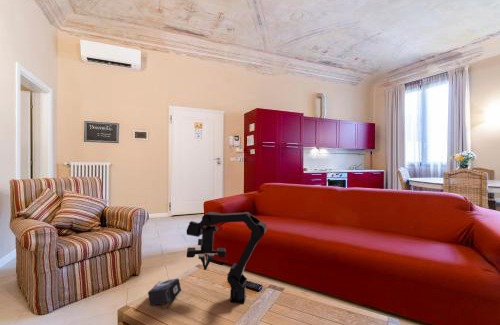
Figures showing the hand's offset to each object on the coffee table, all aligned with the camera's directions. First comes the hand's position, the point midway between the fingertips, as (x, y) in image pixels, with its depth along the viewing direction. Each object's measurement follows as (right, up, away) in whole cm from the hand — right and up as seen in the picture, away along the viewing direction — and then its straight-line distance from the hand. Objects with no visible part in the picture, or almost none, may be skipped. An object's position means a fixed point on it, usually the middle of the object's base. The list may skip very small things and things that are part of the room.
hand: (204, 269), depth 123 cm
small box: (-12, -6, -7) cm, 15 cm away
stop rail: (-15, -12, -6) cm, 20 cm away
